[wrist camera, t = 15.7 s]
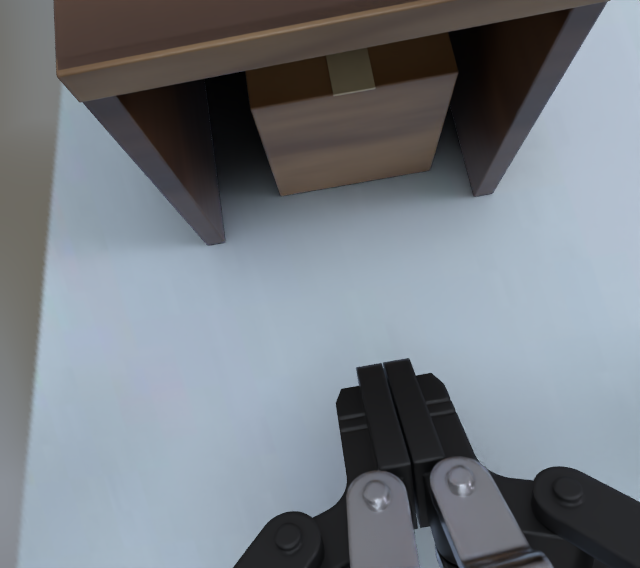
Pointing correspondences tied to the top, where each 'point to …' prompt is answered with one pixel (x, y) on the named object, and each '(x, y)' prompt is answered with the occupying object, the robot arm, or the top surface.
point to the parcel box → (353, 113)
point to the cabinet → (293, 45)
